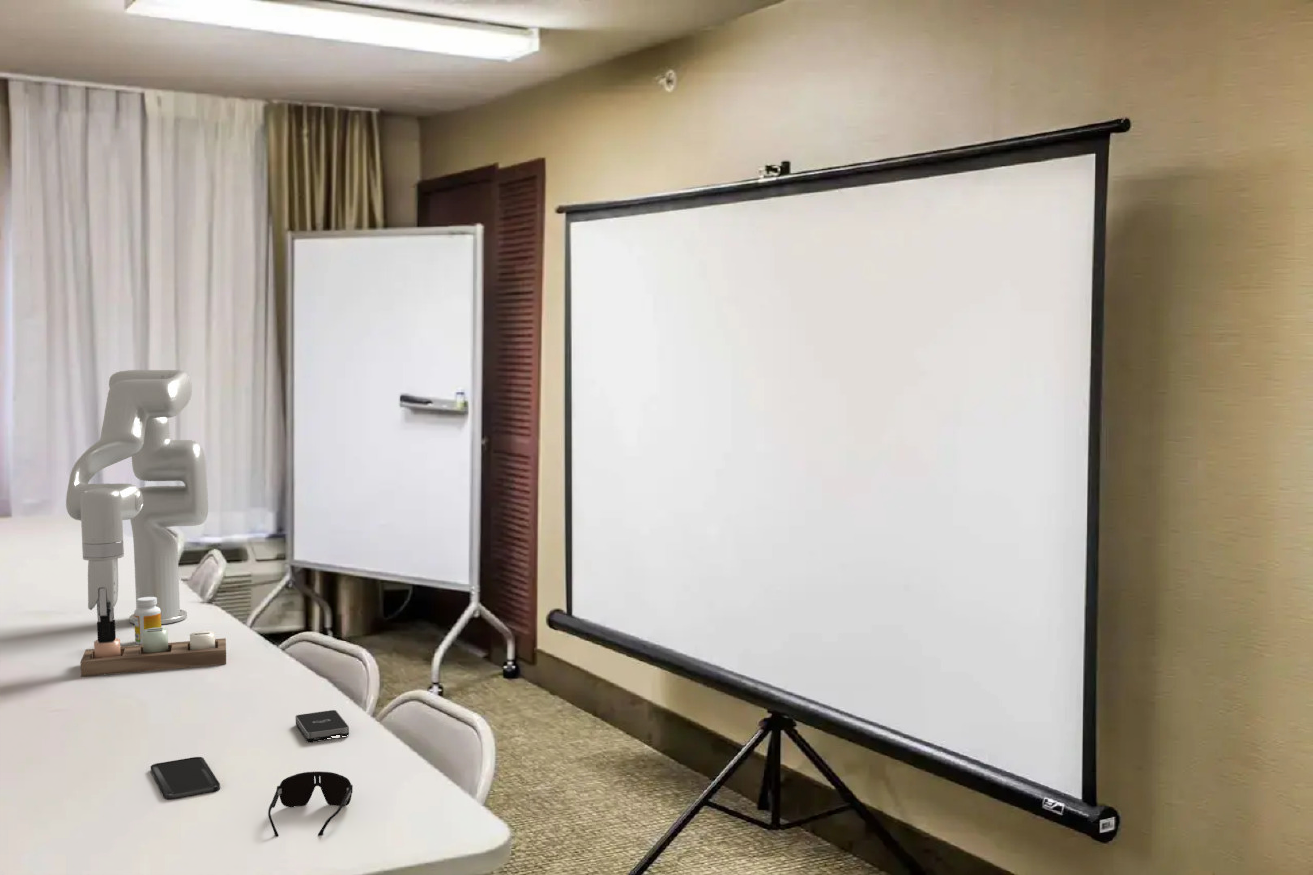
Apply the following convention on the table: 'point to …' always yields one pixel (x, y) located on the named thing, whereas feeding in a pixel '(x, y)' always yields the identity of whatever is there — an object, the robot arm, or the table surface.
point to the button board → (153, 659)
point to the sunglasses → (302, 787)
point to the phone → (184, 778)
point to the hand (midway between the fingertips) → (106, 640)
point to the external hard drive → (321, 725)
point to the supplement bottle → (146, 617)
